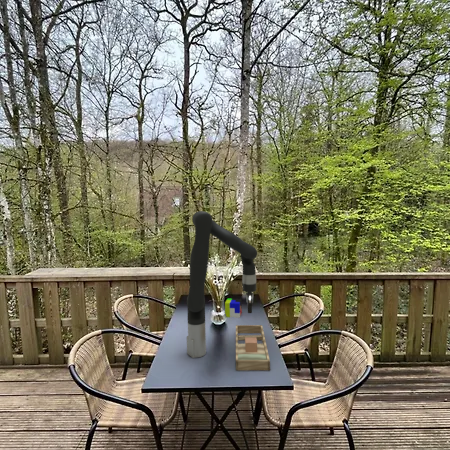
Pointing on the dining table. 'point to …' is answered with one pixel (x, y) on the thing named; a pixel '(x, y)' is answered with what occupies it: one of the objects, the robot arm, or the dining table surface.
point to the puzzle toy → (233, 308)
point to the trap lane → (251, 359)
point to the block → (251, 344)
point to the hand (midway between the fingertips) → (249, 312)
